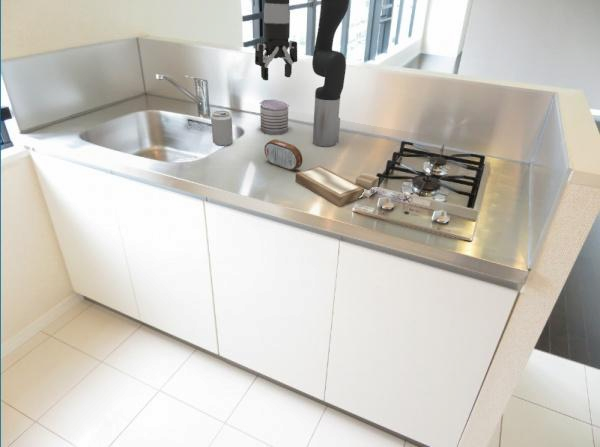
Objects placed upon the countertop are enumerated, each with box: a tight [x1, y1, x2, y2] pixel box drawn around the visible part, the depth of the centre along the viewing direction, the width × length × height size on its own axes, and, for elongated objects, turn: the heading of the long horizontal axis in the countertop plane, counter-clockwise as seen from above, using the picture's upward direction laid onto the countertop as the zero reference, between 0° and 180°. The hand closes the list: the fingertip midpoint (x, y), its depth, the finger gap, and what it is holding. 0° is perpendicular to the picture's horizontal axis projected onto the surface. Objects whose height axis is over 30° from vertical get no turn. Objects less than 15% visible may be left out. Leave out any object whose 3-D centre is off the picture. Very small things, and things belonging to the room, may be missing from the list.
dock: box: [295, 165, 365, 208], centre depth 127 cm, size 10×20×3 cm, turn 39°
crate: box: [354, 172, 380, 190], centre depth 125 cm, size 5×5×5 cm
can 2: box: [259, 98, 290, 136], centre depth 168 cm, size 11×11×12 cm
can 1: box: [210, 109, 234, 147], centre depth 154 cm, size 8×8×12 cm
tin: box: [264, 139, 303, 172], centre depth 139 cm, size 15×3×8 cm, turn 51°
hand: (276, 78), depth 129 cm, fingers open, 8 cm apart
